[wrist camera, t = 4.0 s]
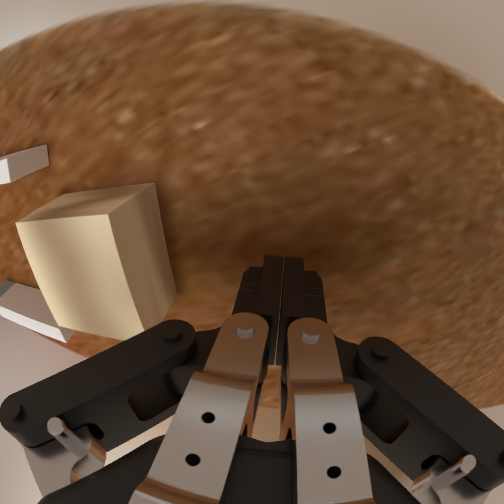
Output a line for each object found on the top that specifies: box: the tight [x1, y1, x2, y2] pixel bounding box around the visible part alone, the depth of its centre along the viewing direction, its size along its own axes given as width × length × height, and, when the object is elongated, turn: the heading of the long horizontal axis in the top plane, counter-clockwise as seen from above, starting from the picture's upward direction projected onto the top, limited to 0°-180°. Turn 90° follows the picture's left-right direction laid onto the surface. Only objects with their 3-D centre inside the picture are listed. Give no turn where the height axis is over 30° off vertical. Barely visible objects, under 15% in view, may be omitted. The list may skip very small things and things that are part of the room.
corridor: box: [0, 144, 76, 343], centre depth 13 cm, size 10×11×3 cm
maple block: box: [16, 183, 177, 340], centre depth 12 cm, size 6×6×4 cm
